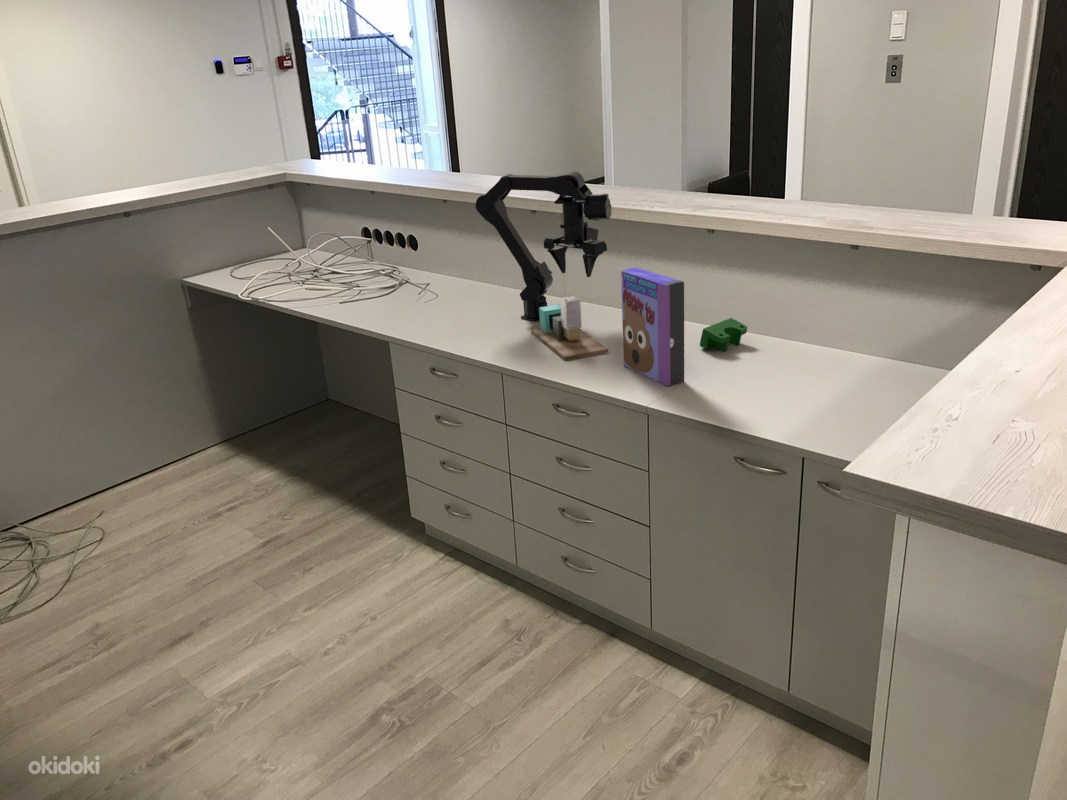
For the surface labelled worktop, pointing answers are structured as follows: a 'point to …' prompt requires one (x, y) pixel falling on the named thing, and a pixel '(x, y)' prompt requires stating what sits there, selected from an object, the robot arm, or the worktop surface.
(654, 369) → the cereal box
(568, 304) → the white-capped post
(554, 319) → the sleeve
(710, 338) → the clamp
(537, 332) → the base board
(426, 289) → the worktop surface
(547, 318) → the socket block
